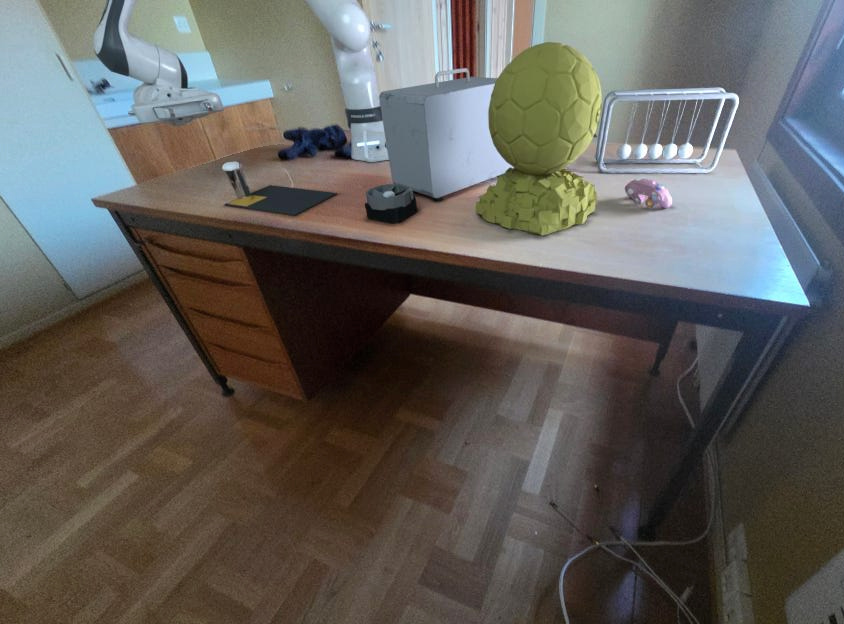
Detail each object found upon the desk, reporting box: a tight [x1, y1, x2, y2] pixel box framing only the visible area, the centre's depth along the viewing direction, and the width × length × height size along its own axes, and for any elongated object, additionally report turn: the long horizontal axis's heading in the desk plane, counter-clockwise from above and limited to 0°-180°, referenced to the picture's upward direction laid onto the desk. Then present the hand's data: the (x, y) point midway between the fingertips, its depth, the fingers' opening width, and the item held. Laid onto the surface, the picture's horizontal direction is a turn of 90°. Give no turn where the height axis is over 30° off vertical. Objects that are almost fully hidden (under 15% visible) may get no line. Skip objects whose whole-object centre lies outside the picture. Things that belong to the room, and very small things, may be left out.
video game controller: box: [624, 177, 673, 209], centre depth 86 cm, size 10×5×7 cm, turn 36°
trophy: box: [475, 41, 603, 236], centre depth 77 cm, size 22×22×30 cm
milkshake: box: [221, 158, 252, 202], centre depth 99 cm, size 4×5×10 cm
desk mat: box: [224, 184, 338, 217], centre depth 102 cm, size 24×16×1 cm, turn 66°
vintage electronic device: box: [379, 67, 514, 202], centre depth 99 cm, size 32×18×25 cm, turn 135°
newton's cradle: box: [594, 86, 740, 174], centre depth 103 cm, size 30×10×18 cm, turn 80°
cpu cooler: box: [364, 183, 418, 224], centre depth 89 cm, size 10×6×10 cm
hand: (191, 110), depth 95 cm, fingers open, 8 cm apart
